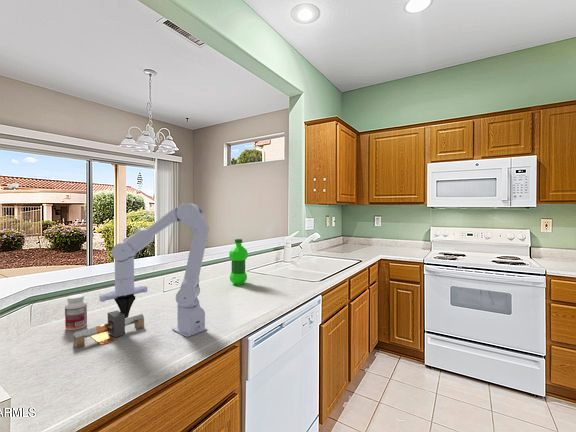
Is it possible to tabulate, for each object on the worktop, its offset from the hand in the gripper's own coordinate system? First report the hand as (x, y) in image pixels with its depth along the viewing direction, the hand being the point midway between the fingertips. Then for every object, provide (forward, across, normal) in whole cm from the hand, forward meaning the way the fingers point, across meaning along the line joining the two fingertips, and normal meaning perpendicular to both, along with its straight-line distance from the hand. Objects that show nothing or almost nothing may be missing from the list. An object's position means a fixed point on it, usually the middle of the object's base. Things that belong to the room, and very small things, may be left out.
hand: (124, 317), depth 98 cm
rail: (+5, +4, 0) cm, 6 cm away
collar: (+5, +3, 0) cm, 6 cm away
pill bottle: (+5, +9, -17) cm, 20 cm away
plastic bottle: (+5, -67, -17) cm, 69 cm away
